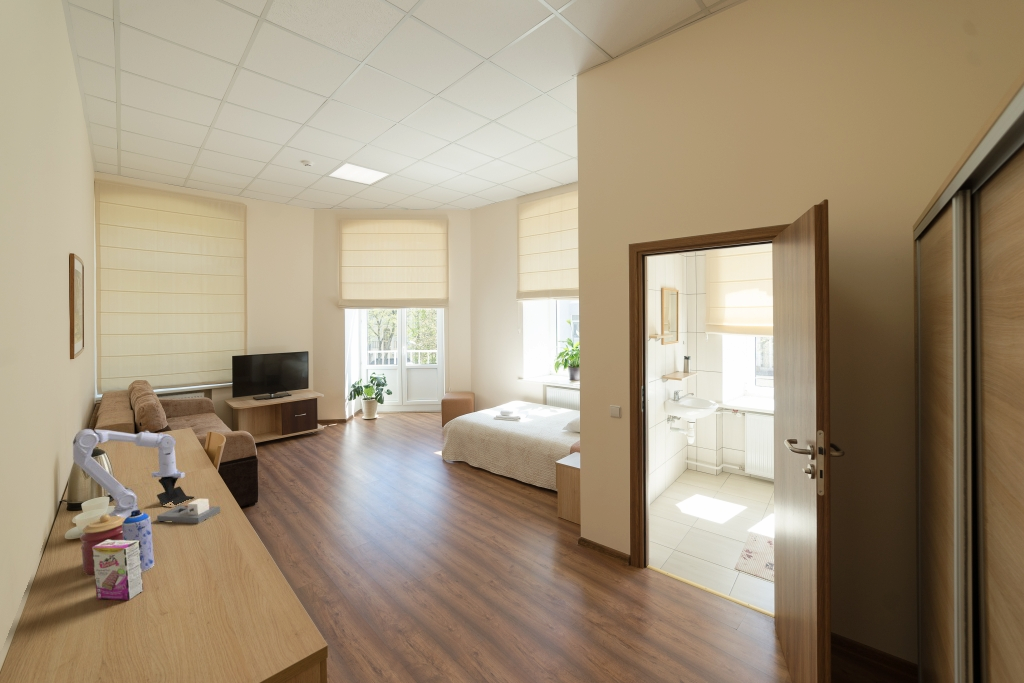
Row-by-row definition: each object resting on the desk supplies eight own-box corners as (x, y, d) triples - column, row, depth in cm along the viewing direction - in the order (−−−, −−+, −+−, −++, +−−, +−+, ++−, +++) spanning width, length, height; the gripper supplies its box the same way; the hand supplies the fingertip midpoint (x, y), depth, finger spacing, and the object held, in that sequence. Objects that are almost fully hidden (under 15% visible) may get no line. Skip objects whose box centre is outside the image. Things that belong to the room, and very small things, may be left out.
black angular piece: (176, 504, 203) (165, 486, 205) (164, 514, 204) (153, 496, 205) (197, 497, 215) (186, 480, 216) (186, 507, 215) (175, 490, 217)
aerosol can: (119, 576, 147) (114, 517, 146) (132, 564, 155) (128, 507, 154) (147, 572, 149) (143, 513, 148) (159, 560, 157) (155, 504, 156)
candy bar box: (95, 600, 135) (90, 547, 134) (111, 590, 140) (107, 538, 139) (129, 601, 134) (124, 547, 133) (144, 591, 139) (140, 539, 138)
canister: (75, 569, 153) (71, 519, 152) (122, 551, 164) (118, 504, 163) (92, 578, 147) (88, 526, 146) (140, 559, 158) (136, 510, 157)
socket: (198, 523, 186) (198, 516, 185) (157, 521, 189) (156, 514, 189) (220, 512, 196) (219, 505, 196) (180, 510, 200) (180, 503, 200)
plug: (195, 520, 187) (194, 505, 187) (186, 520, 188) (185, 505, 188) (209, 513, 194) (208, 498, 194) (200, 513, 195) (199, 498, 195)
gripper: (190, 459, 196) (192, 490, 196) (161, 459, 198) (163, 489, 199) (175, 465, 189) (177, 496, 190) (146, 464, 191) (148, 495, 192)
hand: (169, 493), depth 194 cm, fingers closed
